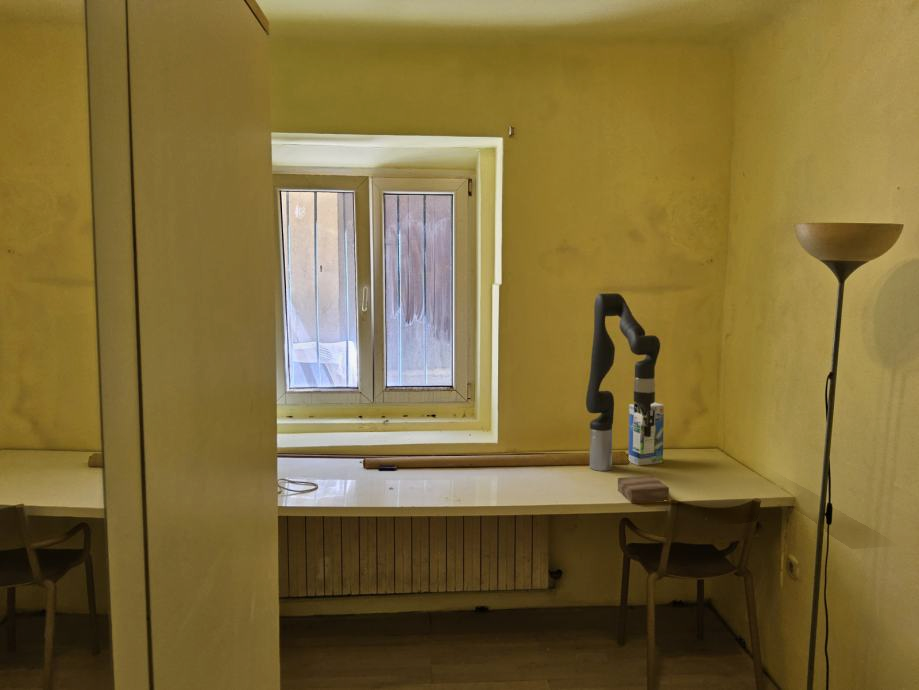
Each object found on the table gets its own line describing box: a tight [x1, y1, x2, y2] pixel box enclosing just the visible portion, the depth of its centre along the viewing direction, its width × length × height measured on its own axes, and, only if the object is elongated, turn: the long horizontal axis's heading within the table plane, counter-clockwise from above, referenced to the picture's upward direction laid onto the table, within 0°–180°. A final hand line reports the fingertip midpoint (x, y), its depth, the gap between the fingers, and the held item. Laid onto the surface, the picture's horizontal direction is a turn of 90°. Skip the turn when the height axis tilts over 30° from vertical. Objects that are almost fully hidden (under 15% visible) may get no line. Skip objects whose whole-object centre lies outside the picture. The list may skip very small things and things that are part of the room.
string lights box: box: [628, 402, 665, 466], centre depth 283 cm, size 13×8×26 cm, turn 109°
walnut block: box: [617, 475, 670, 504], centre depth 241 cm, size 14×14×5 cm
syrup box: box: [633, 413, 655, 454], centre depth 239 cm, size 6×6×14 cm
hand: (643, 434), depth 239 cm, fingers closed on syrup box, 6 cm apart
